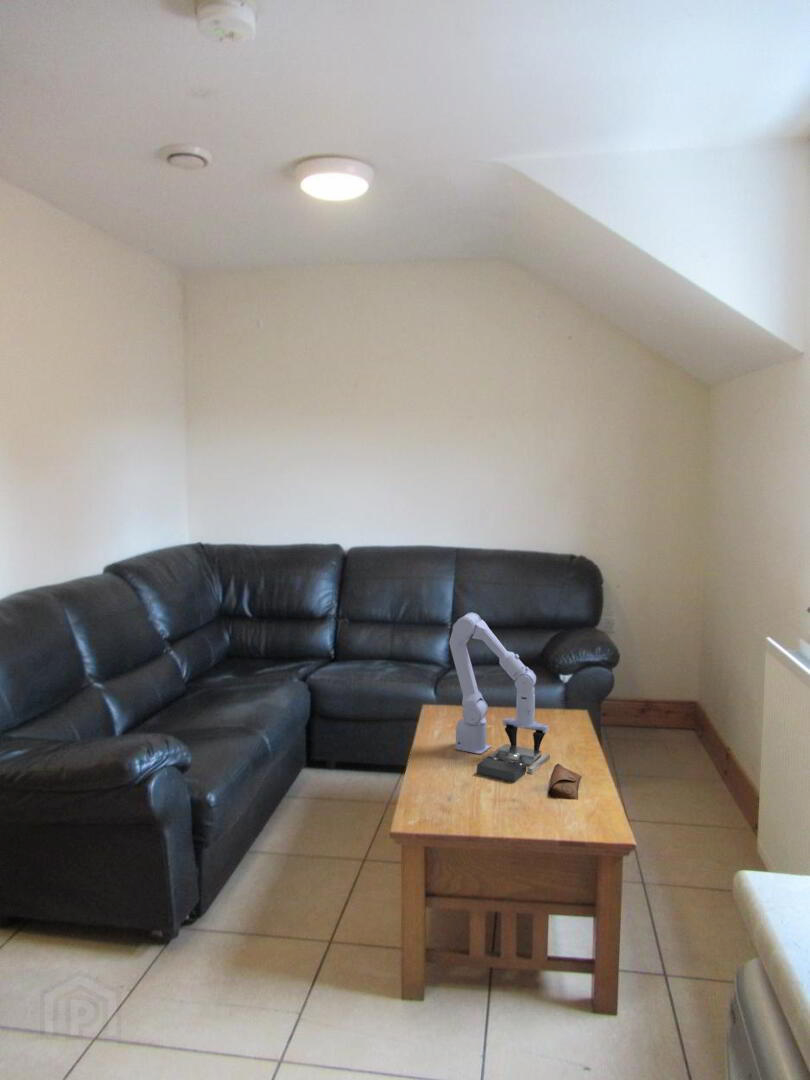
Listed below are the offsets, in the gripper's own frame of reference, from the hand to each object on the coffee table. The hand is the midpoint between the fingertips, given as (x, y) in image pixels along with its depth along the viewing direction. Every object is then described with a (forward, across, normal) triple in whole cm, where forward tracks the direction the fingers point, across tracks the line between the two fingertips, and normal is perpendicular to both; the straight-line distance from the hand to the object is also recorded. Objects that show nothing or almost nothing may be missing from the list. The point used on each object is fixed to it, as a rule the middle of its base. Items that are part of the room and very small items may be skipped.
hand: (525, 750), depth 241 cm
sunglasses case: (+2, +19, -16) cm, 25 cm away
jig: (+1, 0, -6) cm, 6 cm away
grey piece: (+1, 0, -6) cm, 6 cm away
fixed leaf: (+1, 0, -17) cm, 17 cm away
